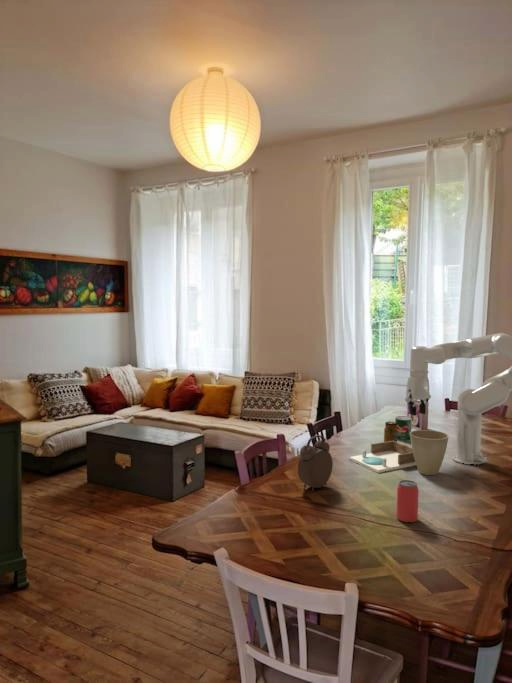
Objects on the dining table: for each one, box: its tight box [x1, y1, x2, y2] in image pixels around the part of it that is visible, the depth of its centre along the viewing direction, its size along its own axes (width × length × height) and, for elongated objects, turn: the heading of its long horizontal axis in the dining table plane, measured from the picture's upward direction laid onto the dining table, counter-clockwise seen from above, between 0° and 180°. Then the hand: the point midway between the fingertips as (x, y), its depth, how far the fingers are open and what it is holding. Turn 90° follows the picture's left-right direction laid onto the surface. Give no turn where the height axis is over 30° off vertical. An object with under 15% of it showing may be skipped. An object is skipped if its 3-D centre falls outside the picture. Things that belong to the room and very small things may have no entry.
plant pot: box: [410, 429, 449, 476], centre depth 206 cm, size 15×15×16 cm
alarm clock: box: [297, 434, 333, 492], centre depth 189 cm, size 15×7×20 cm, turn 134°
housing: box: [370, 441, 415, 465], centre depth 222 cm, size 18×13×4 cm
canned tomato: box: [394, 415, 412, 442], centre depth 254 cm, size 8×8×11 cm
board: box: [348, 449, 417, 474], centre depth 220 cm, size 19×26×4 cm
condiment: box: [383, 420, 398, 442], centre depth 240 cm, size 7×8×12 cm
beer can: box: [396, 479, 420, 523], centre depth 163 cm, size 7×7×12 cm
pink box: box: [406, 400, 430, 430], centre depth 276 cm, size 11×7×15 cm, turn 25°
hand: (417, 413), depth 227 cm, fingers open, 4 cm apart
